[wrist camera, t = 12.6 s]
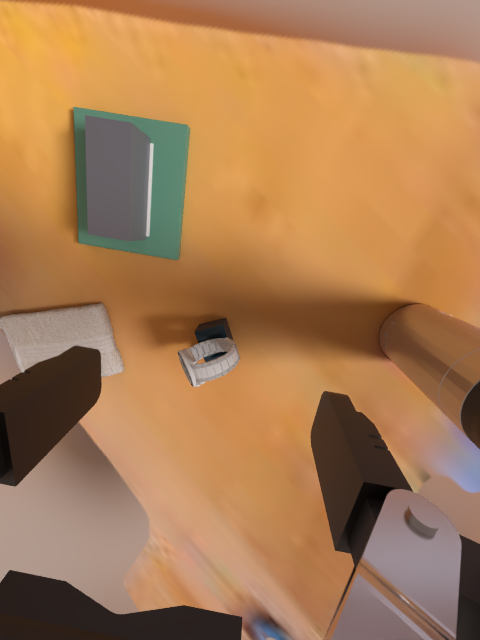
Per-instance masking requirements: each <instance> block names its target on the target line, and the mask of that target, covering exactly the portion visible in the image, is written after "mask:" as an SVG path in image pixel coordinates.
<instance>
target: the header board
mask: <svg viewBox="0 0 480 640" xmlns="http://www.w3.org/2000/svg"><path fill="white" fill-rule="evenodd" d="M73 108H74V134H75V161H76V188H77V214H78V241H79V243H80V244H86V245H92V246H98V247H104V248H109V249H115V250H121V251H127V252H133V253H139V254H144V255H150V256H156V257H162V258H168V259H173V260H178V259H179V256H180V244H181V232H182V220H183V208H184V195H185V183H186V171H187V159H188V147H189V135H190V128H189V127H188V125H184V124H178V123H172V122H165V121H159V120H153V119H146V118H140V117H134V116H128V115H121V114H115V113H109V112H103V111H96V110H90V109H84V108H78V107H73ZM85 115H88V116H94V117H100V118H106V119H112V120H118V121H124V122H130V123H133V124H134V125H135V126H136V127H137V128H139V129H140V130H141V131H142V132H143V133H145V134H146V135H147V136H148V137H150V138H151V139H150V162H149V184H148V207H147V230H146V240H139V241H124V240H118V239H113V238H107V237H101V236H95V235H89V234H88V223H87V181H86V139H85Z"/></svg>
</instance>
